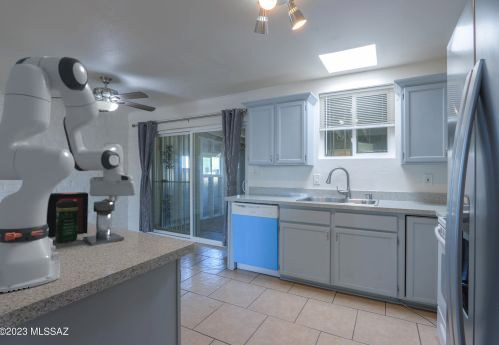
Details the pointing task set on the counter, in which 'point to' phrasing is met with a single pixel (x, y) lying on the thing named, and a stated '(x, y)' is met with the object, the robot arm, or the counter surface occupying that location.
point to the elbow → (104, 206)
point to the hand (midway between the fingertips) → (113, 205)
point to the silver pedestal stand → (103, 230)
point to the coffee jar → (66, 220)
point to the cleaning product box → (82, 211)
